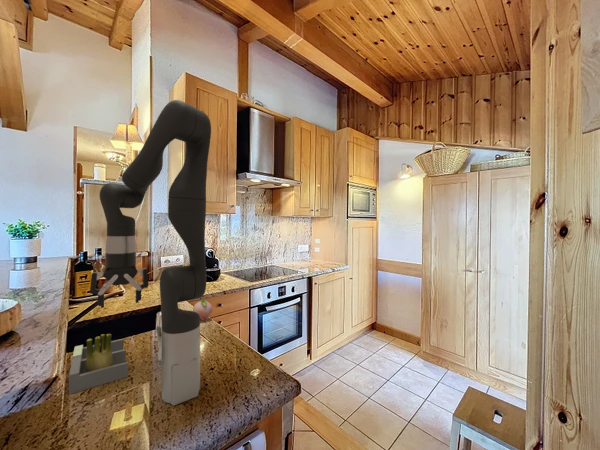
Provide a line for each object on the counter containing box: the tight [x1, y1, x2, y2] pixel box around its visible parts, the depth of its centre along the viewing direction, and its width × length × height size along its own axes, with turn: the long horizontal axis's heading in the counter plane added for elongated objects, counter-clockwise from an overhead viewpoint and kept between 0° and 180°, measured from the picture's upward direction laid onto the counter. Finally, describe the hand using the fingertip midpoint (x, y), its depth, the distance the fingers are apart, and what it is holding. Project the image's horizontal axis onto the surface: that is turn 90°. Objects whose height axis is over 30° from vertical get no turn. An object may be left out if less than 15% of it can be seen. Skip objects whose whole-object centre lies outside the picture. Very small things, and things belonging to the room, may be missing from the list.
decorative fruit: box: [192, 298, 213, 321], centre depth 121 cm, size 9×8×10 cm
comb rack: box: [68, 338, 129, 395], centre depth 80 cm, size 21×13×5 cm, turn 38°
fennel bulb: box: [86, 333, 113, 372], centre depth 76 cm, size 6×5×12 cm
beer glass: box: [155, 311, 162, 362], centre depth 87 cm, size 7×7×15 cm
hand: (120, 304), depth 78 cm, fingers open, 8 cm apart
